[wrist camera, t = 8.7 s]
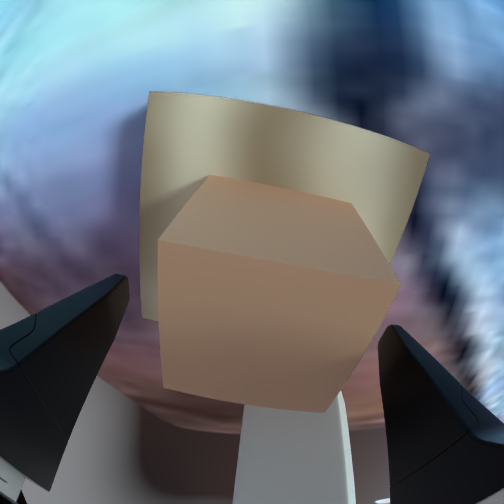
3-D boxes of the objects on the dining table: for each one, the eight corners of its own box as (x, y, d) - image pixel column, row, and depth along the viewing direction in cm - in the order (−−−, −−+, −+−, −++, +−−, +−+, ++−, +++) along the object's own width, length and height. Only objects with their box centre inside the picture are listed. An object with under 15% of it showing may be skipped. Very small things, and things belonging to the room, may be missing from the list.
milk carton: (246, 375, 23) (219, 602, 7) (332, 357, 22) (350, 604, 5) (272, 415, 26) (260, 594, 10) (344, 402, 25) (358, 589, 8)
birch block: (396, 139, 14) (430, 153, 11) (335, 312, 20) (344, 354, 16) (178, 92, 14) (149, 91, 10) (162, 279, 20) (141, 317, 16)
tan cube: (351, 203, 12) (401, 284, 7) (313, 312, 15) (324, 412, 10) (209, 174, 12) (157, 239, 7) (197, 291, 15) (163, 387, 10)
